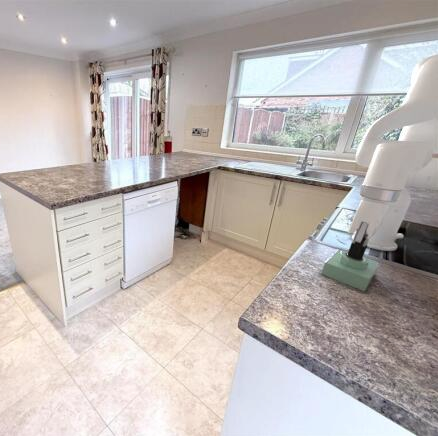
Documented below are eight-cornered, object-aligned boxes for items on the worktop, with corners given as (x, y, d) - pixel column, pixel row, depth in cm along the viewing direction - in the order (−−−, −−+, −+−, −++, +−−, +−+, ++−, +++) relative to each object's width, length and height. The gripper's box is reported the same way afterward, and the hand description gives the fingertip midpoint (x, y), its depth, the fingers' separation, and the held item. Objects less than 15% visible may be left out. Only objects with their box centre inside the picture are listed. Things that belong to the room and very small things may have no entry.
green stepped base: (334, 260, 79) (340, 243, 76) (374, 274, 71) (382, 257, 69) (321, 273, 71) (327, 256, 69) (364, 291, 64) (372, 272, 62)
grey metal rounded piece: (346, 257, 72) (349, 251, 71) (362, 262, 70) (364, 256, 69) (343, 261, 70) (345, 255, 69) (358, 267, 68) (361, 260, 67)
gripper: (367, 186, 69) (346, 243, 76) (353, 195, 60) (330, 259, 67) (404, 192, 64) (377, 253, 71) (394, 203, 55) (365, 271, 62)
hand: (354, 256), depth 69 cm, fingers closed
